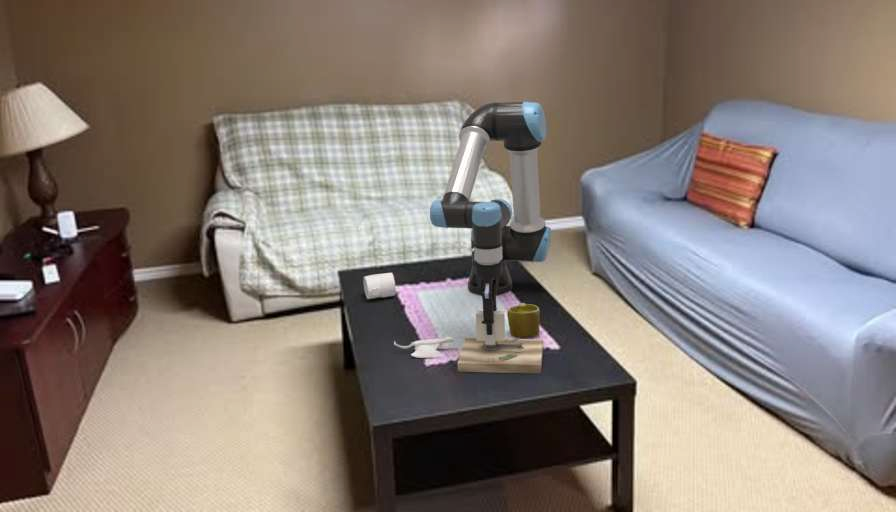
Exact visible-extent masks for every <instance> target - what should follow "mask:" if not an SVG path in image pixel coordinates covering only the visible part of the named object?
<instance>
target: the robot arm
mask: <svg viewBox="0 0 896 512" xmlns="http://www.w3.org/2000/svg"><path fill="white" fill-rule="evenodd" d="M546 138H547V121H546V115H545V111H544V109H543V107H542V106H541V104H540V103H539V102H532V101H531V102H529V101H512V102H511V101H509V102H496V101H495V102H489V103H485V104H483V105H481V106H480V107H478V108H477V109H475V110H474V111H473V112H472V113H470V114H469V116H468V117H467V118H466V119H465V121H464V123H463V124H462V126H461V128H460V131H459V134H458V139H459V146H458V149H457V152H456V155H455V158H454V162H453V165H452V168H451V171H450V173H449V174H450V175H449V178H448V181H447V183H446V187H445V190H444V194H443V196H442V199H439V200H434V201H433V202H432V203H431V205H430V209H429V218H430V222H431V225H432V226H434V227H436V228H442V229H443V228H444V229H471V230H470V244H471V245H470V246H471V247H470V248H471V265H472V266H471V269H470V270H471V271H470V275H469V277H468V280H467V289H468V291H469V292H470V293H472V294H474V295H479V296H481V299H482V311H483V319H484V321H482V324H485V345H495V322H494V311H498V307H497V295H498V296H500V295H503V293H504V294H507V293H509V292H510V291H511V290H513V280H512V277H511V275H510V271H509V270H508V267H507V262H508V261H509V262H528V263H529V262H530V263H541V262H542V263H543V262H544V261H546V260H547V258H548V255H549V251H550V245H551V238H552V228H551V227H549V226H547V225H546V220H545V219H544V218H543V217H541V203H540V202H541V201H540V187H539V167H538V165H539V164H538V149H540V148H541V146H542V142H544V141H545V140H546ZM493 141H494V142H503V148H504V149H505V151H506V152H508V153H509V155H508V156H509V168H510V181H511V194H512V205H511V204H510V203H509V202H508V201H507V200H505V199H503V198H495V199H491V200H490V201H470V199H471V196H472V192H473V189H474V187H475V183H476V179H477V176H478V172H479V169H480V166H481V163H482V159H483V155H484V151H485V150H486V149H487V148H488V147H489V146H490V143H491V142H493ZM512 215H513V219H512ZM511 219H512V220H511ZM508 224H509V225H508Z"/></svg>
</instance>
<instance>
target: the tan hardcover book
mask: <svg viewBox="0 0 896 512" xmlns="http://www.w3.org/2000/svg"><path fill="white" fill-rule="evenodd" d="M497 343H498V344H522V347H500V349H499V350H497V351H485V350H483V349H482V345H483V344H485V341H477V337H473V338H472V337H465V338H464V342H463V345H462V348H461V351H460V354H459V357H458V360H457V372H464V373H465V372H466V373H468V372H469V373H496V374H497V373H498V374H499V373H502V374H504V373H506V374H507V373H509V374H538V375H541V373H542V367H543V366H542V364H543V356H544V355H543V354H544V353H543V352H544V339H537V338H536V339H534V338H532V339H531V338H529V339H528V338H505V341H497Z"/></svg>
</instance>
